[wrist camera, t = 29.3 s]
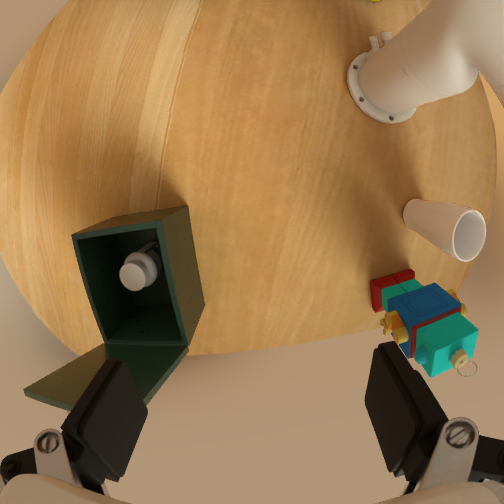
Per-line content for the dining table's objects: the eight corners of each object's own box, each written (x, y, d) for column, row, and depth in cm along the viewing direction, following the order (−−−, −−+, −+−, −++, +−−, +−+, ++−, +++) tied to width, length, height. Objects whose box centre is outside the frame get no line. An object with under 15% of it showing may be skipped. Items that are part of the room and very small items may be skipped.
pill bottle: (140, 270, 43) (116, 292, 35) (139, 239, 42) (113, 256, 33) (169, 273, 43) (150, 298, 35) (169, 242, 42) (148, 260, 33)
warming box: (112, 217, 41) (71, 234, 30) (188, 205, 41) (161, 219, 29) (134, 307, 46) (104, 343, 35) (205, 304, 45) (189, 346, 34)
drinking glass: (397, 193, 39) (454, 208, 24) (430, 193, 38) (488, 208, 24) (397, 234, 41) (448, 265, 26) (428, 232, 40) (483, 260, 26)
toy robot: (363, 310, 45) (426, 415, 21) (360, 279, 43) (435, 379, 19) (418, 292, 44) (499, 373, 20) (417, 262, 42) (511, 335, 18)
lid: (22, 389, 17) (41, 433, 17) (128, 417, 16) (147, 466, 16) (103, 343, 34) (111, 377, 35) (188, 345, 34) (194, 382, 34)
